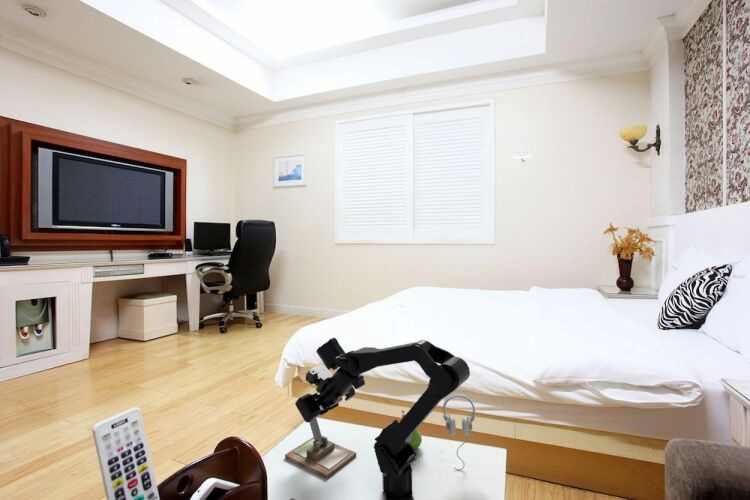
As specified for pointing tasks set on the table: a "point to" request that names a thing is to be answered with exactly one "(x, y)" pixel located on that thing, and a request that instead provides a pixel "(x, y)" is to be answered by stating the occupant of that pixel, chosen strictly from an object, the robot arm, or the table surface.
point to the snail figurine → (414, 437)
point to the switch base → (315, 466)
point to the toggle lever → (316, 431)
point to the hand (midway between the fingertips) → (312, 414)
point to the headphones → (465, 421)
